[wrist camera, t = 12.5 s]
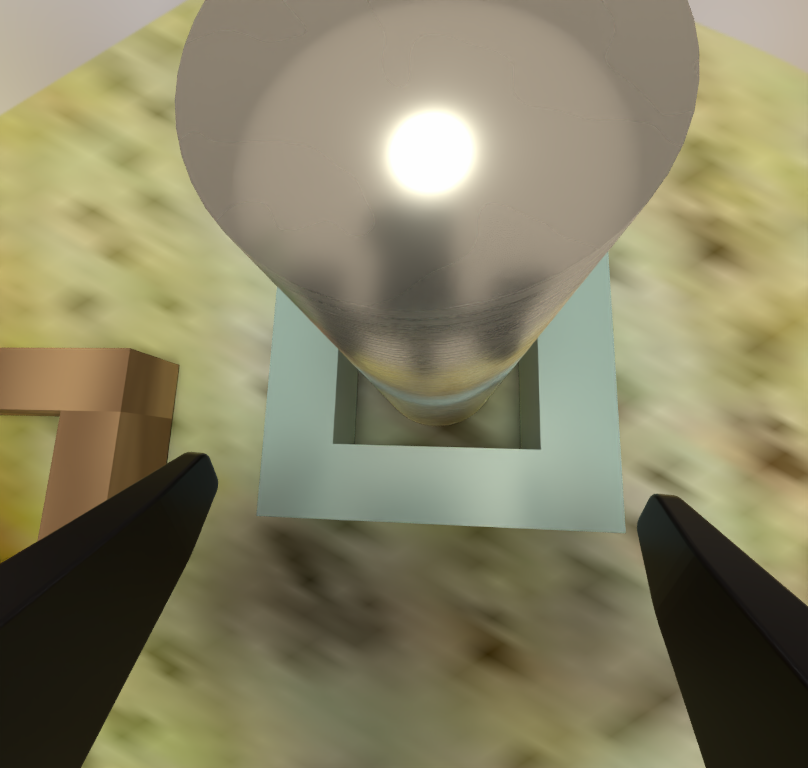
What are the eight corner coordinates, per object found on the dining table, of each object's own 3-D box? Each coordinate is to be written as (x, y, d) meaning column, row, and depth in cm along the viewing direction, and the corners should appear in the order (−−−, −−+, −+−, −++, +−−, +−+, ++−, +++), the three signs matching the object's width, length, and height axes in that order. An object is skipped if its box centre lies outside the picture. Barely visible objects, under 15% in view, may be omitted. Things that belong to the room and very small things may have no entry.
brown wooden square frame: (179, 365, 19) (130, 348, 16) (142, 647, 17) (77, 688, 14) (-49, 363, 20) (-134, 347, 17) (-110, 626, 18) (-219, 660, 15)
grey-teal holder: (573, 238, 18) (603, 187, 15) (586, 516, 16) (625, 533, 13) (313, 243, 19) (285, 197, 16) (293, 503, 17) (256, 515, 14)
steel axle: (517, 350, 17) (798, -41, 4) (456, 449, 17) (518, 420, 3) (420, 295, 18) (353, -191, 5) (359, 387, 18) (79, 154, 4)
